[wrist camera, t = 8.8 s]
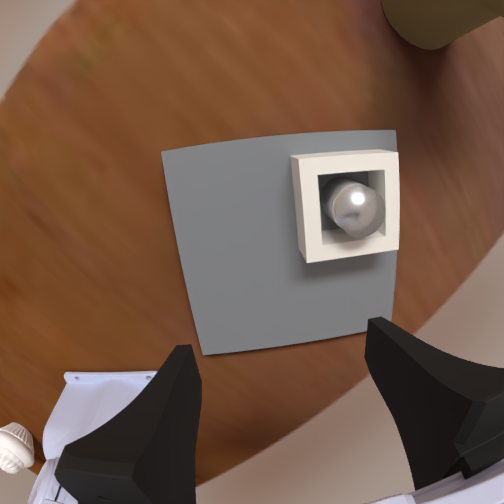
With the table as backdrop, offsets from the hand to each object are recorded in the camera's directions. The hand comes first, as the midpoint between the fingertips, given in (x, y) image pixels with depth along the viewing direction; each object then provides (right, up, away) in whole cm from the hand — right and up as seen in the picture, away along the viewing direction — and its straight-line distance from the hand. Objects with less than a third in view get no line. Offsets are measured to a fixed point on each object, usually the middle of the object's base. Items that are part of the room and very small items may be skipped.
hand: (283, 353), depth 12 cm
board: (+1, +5, +8) cm, 10 cm away
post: (+4, +7, +6) cm, 10 cm away
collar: (+4, +7, +6) cm, 10 cm away
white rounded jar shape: (-30, -18, +15) cm, 38 cm away
